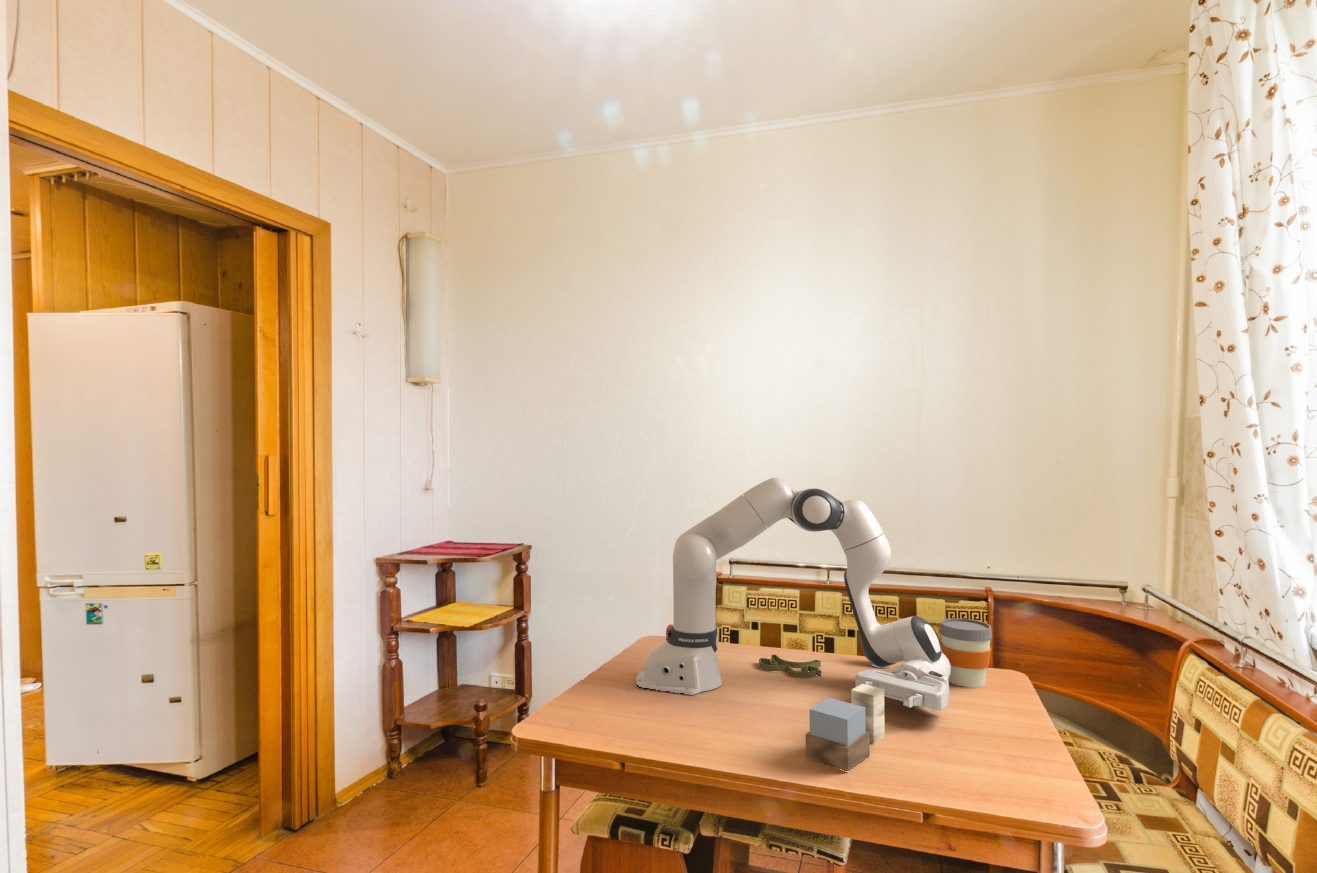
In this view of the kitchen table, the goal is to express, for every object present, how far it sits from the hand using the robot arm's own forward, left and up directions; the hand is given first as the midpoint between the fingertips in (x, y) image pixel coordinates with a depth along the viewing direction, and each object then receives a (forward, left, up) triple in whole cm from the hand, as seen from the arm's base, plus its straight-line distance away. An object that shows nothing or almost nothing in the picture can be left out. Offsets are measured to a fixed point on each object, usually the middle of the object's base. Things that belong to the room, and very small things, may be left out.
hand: (885, 697), depth 149 cm
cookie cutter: (-20, +35, -7) cm, 41 cm away
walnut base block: (-12, -18, -6) cm, 23 cm away
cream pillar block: (-5, -7, -6) cm, 11 cm away
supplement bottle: (+5, +42, -6) cm, 42 cm away
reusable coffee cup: (+25, +32, -6) cm, 41 cm away
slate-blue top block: (-12, -18, -1) cm, 22 cm away
